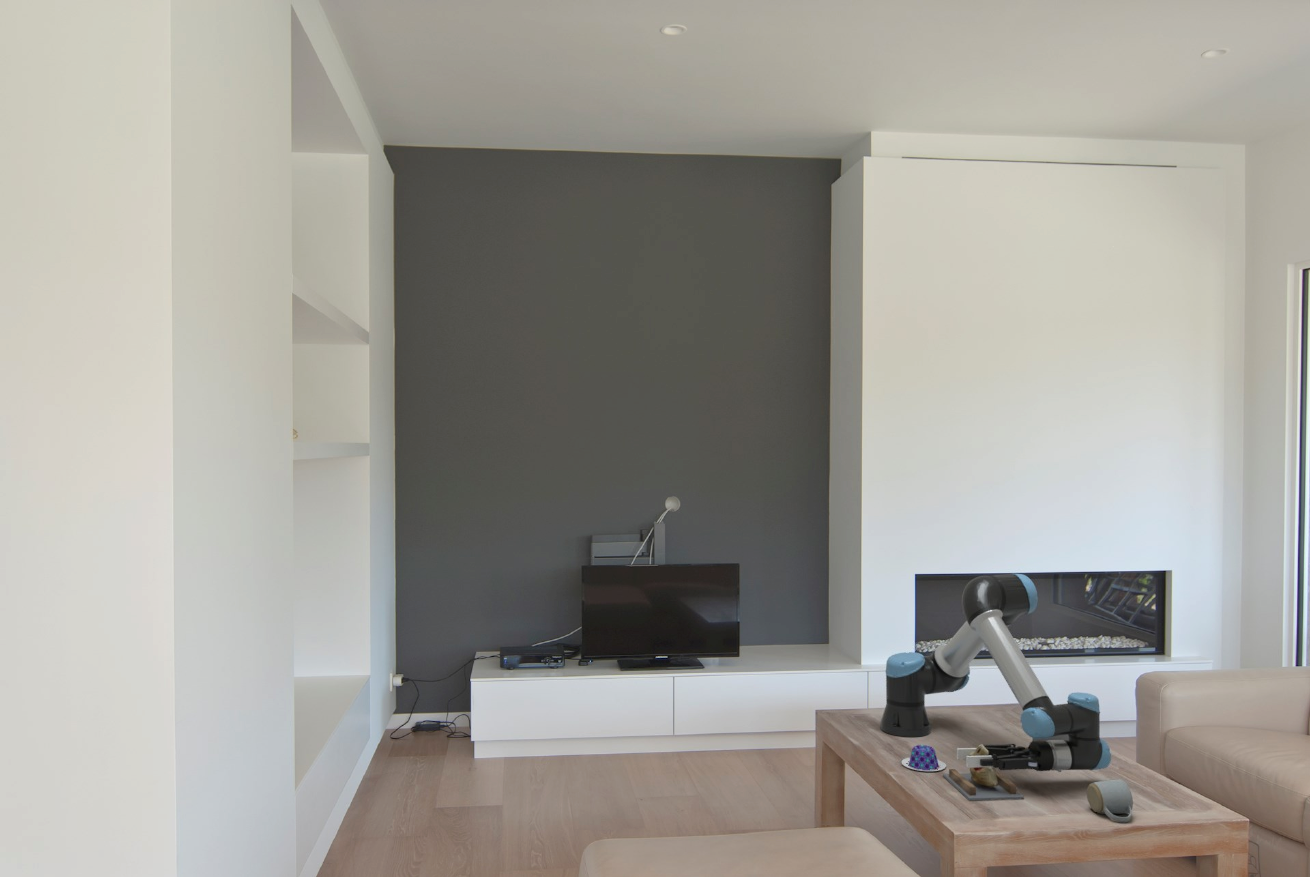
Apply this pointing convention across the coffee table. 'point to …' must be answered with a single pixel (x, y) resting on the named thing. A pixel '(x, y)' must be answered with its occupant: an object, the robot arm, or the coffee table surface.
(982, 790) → the mat
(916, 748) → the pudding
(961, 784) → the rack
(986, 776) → the chocolate bunny
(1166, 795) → the coffee table surface
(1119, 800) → the ceramic mug
